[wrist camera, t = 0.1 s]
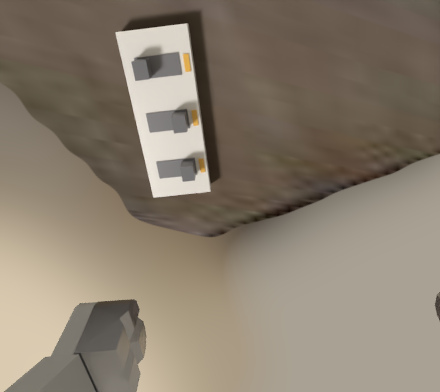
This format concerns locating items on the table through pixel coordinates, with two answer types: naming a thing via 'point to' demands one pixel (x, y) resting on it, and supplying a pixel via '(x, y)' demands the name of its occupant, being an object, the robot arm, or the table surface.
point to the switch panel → (166, 107)
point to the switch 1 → (142, 69)
